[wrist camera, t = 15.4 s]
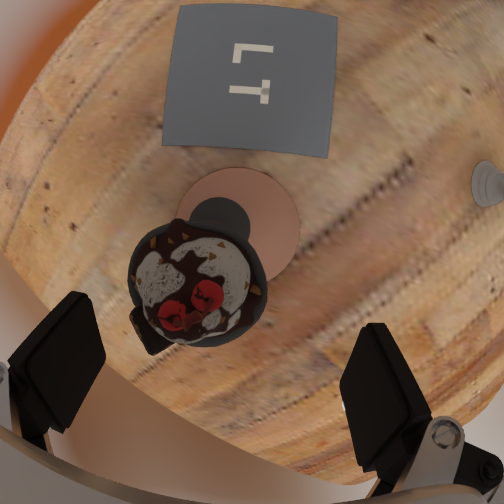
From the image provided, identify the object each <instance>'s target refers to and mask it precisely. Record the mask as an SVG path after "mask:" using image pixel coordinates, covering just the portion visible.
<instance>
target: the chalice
mask: <svg viewBox="0 0 504 504" xmlns="http://www.w3.org/2000/svg"><path fill="white" fill-rule="evenodd" d="M471 187H472V194H473V198H474V199H475V201H476V203H477V204H478V205H479V206H481V207H487V206H492V205H498V204H499V203H500V202H502V201H503V199H504V175H503V173H502V172H501V171H500V170H498V169H497V168H496V167H495V166H494V165H493V164H492V163H491V162H489V161H487V160H486V161H481V162H480V163H478V164H477V166H476V167H475V169H474V172H473V175H472V181H471Z"/></svg>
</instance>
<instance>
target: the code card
mask: <svg viewBox="0 0 504 504" xmlns="http://www.w3.org/2000/svg"><path fill="white" fill-rule="evenodd" d="M336 49H337V17H336V16H332V15H327V14H322V13H317V12H312V11H306V10H300V9H293V8H286V7H278V6H268V5H254V4H194V5H181V6H180V10H179V15H178V20H177V25H176V30H175V36H174V42H173V48H172V54H171V61H170V68H169V75H168V83H167V91H166V101H165V111H164V122H163V135H162V145H178V146H210V147H228V148H242V149H254V150H265V151H274V152H283V153H292V154H299V155H307V156H314V157H320V158H327V157H328V149H329V140H330V130H331V120H332V109H333V98H334V84H335V69H336Z"/></svg>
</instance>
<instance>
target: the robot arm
mask: <svg viewBox="0 0 504 504" xmlns="http://www.w3.org/2000/svg"><path fill="white" fill-rule="evenodd" d="M105 360H106V353H105V350H104V347H103V343H102V340H101V336H100V333H99V329H98V325H97V321H96V317H95V313H94V309H93V305H92V301H91V299H90V298H88V295H87V294H85V293H81V292H76V291H71V292H70V293H69V294H68V295H67V296H66V297H65V298H64V299H63V300H62V301H61V302H60V303H59V304H58V305H57V306H56V307H55V308H54V309H53V310H52V311H51V312H50V313H49V314H48V315H47V316H46V318H44V319H43V320H42V321H41V322H40V324H39V325H38V326H37V327H36V328H35V329H34V330H33V331H32V332H31V333H30V335H29V336H28V337H27V338H26V339H25V340H24V341H23V342H22V344H21V345H20V346H19V347H18V348H17V349H16V351H15V352H14V353H13V354H12V355H11V357H10V358H9V359H8V363H9V364H10V367H9V369H7V367H6V365H5V364H4V363H2V362H0V504H208V503H201V502H195V501H189V500H183V499H178V498H173V497H168V496H164V495H160V494H155V493H151V492H148V491H144V490H140V489H137V488H133V487H130V486H127V485H124V484H121V483H117V482H115V481H112V480H109V479H106V478H103V477H101V476H98V475H96V474H93V473H91V472H88V471H86V470H83V469H81V468H78V467H76V466H74V465H72V464H70V463H68V462H65V461H64V460H62V459H59V458H58V457H56V456H54V454H53V450H52V447H51V444H50V439H49V435H48V429H49V427H51V428H52V429H54V430H55V431H58V432H60V433H62V434H63V433H64V431H65V429H66V428H69V427H70V425H71V424H72V422H73V419H74V418H75V416H76V414H77V412H78V410H79V408H80V406H81V404H82V402H83V400H84V399H85V397H86V395H87V393H88V391H89V389H90V387H91V386H92V384H93V382H94V380H95V379H96V377H97V375H98V373H99V372H100V370H101V368H102V366H103V365H104V363H105ZM340 392H341V396H342V400H343V404H344V408H345V412H346V416H347V420H348V424H349V429H350V433H351V437H352V442H353V446H354V450H355V455H356V460H357V463H358V465H359V466H362V468H363V473H365V472H371V471H377V476H378V479H377V480H376V482H375V484H374V486H373V487H372V488H371V490H370V492H369V493H368V495H367V496H366V498H365V499H360V500H355V501H348V502H341V503H333V504H504V475H503V474H504V468H503V464H502V462H501V460H500V459H499V458H498V457H497V456H496V455H494V454H491V453H489V452H487V451H485V450H482V449H480V448H478V447H476V446H474V445H471V444H469V443H467V442H465V440H464V439H465V434H464V430H463V428H462V426H461V424H460V423H459V422H458V421H457V420H455V419H453V418H451V417H448V416H438V417H436V418H434V419H433V418H432V416H431V410H430V408H429V406H428V404H427V402H426V400H425V398H424V396H423V394H422V392H421V390H420V388H419V386H418V384H417V382H416V380H415V378H414V376H413V374H412V372H411V370H410V368H409V366H408V364H407V362H406V360H405V359H404V357H403V355H402V353H401V351H400V349H399V347H398V346H397V344H396V342H395V340H394V338H393V337H392V335H391V333H390V331H389V330H388V328H387V326H386V325H385V323H368V324H367V325H366V327H362V328H361V330H360V333H359V336H358V338H357V341H356V344H355V346H354V349H353V351H352V354H351V356H350V359H349V361H348V363H347V366H346V368H345V370H344V373H343V375H342V377H341V380H340Z"/></svg>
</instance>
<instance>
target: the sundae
mask: <svg viewBox="0 0 504 504" xmlns="http://www.w3.org/2000/svg"><path fill="white" fill-rule="evenodd" d="M249 236H250V220H249V218H248V215H247V213H246V212H245V210H244V209H243V208H242V207H241V206H240V205H239V204H238V203H236V202H235V201H233V200H230V199H227V198H224V197H214V198H209V199H207V200H204V201H203V202H201V203H199V204H198V205H197V206H196V207H195V209H194V210H193V211H192V213H191V215H190V218H189V221H185V220H183V219H181V218H176V219H174V220H172V221H171V222H170V223H168V224H165V225H163V226H160V227H158V228H156V229H154V230H152V231H150V232H148V233H147V234H146V235H145V236H144V237H143V238H142V239H141V241H140V242H139V244H138V245H137V246H136V248H135V250H134V252H133V254H132V257H131V260H130V264H129V269H128V280H127V282H128V287H129V293H130V296H131V298H132V301H133V304H134V305H135V308H134V309H133V310H132V311H131V313H130V315H129V318H130V321H131V323H132V325H133V327H134V329H135V331H136V333H137V335H138V337H139V339H140V340H141V342H142V343H143V344H144V347H145V349H146V351H147V352H148V354H150V355H152V356H154V355H156V354H158V353H159V352H161V351H163V350H165V349H166V348H168V347H170V346H171V345H173V344H174V343H178V344H179V345H184V344H187V345H190V346H194V347H216V346H220V345H222V344H225V343H228V342H230V341H232V340H234V339H236V338H238V337H240V336H241V335H242V334H244V333H245V332H246V331H247V330H249V329H250V328H251V327H252V326H253V325H254V324H255V323H256V322H257V321H258V320H259V318H260V317H261V315H262V313H263V311H264V308H265V306H266V303H267V290H268V289H267V279H266V274H265V271H264V269H263V266H262V263H261V261H260V259H259V257H258V255H257V253H256V251H255V249H254V248H253V247H252V246H251V244H250V243H249V242H248V239H249Z"/></svg>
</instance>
